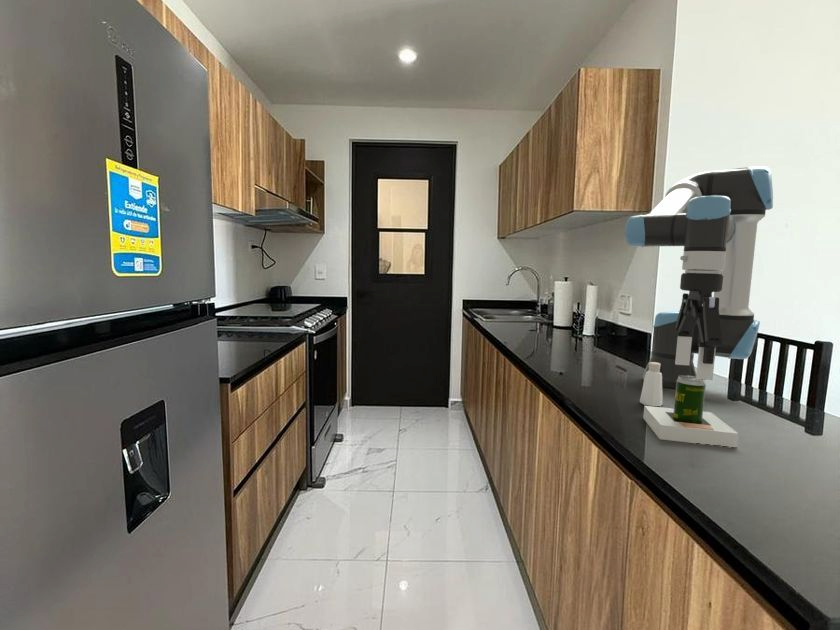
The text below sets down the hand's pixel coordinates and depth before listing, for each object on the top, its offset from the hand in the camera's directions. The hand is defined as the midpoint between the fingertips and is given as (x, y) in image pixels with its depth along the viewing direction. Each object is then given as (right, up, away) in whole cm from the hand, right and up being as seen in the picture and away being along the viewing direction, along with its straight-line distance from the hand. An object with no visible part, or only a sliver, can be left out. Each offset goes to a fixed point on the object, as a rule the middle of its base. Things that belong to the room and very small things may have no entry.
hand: (692, 371), depth 96 cm
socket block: (-1, -13, +1) cm, 13 cm away
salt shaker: (+2, -12, +22) cm, 25 cm away
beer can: (-1, -13, +1) cm, 14 cm away
